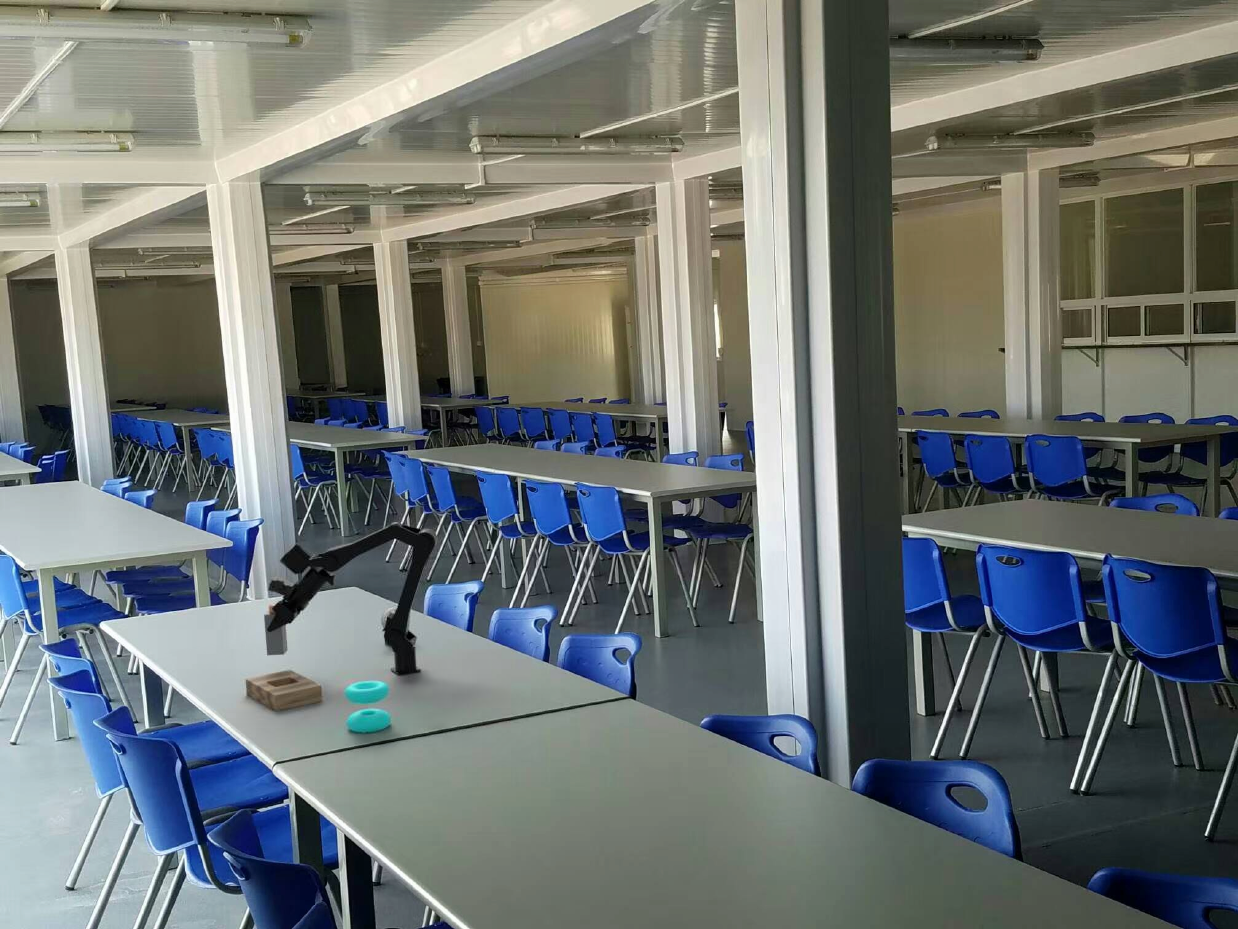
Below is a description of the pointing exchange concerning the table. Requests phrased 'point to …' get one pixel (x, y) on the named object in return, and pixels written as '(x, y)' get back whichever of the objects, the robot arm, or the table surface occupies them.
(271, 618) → the gray square post
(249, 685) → the wooden block with hole
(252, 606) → the table surface
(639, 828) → the table surface
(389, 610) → the watch
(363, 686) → the donuts
